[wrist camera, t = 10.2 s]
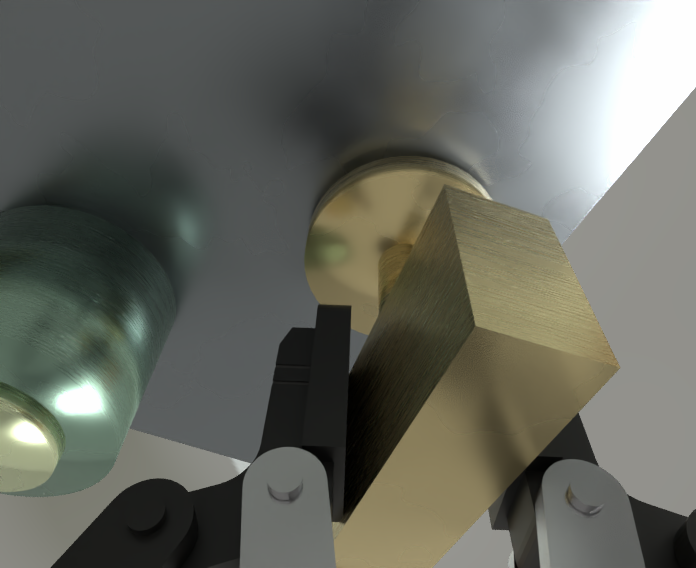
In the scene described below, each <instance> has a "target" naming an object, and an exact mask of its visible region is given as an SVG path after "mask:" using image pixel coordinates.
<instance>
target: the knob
mask: <svg viewBox="0 0 696 568" xmlns="http://www.w3.org/2000/svg"><path fill="white" fill-rule="evenodd" d="M304 264H305V273H306V277H307V281H308V284H309V286H310V289H311V291H312V293H313V294H314V296H315V298H316V300H317V301H318V302H319V303H320V304H327V305H352V307H351V329H353V330H355V331H357V332H360V333H363V334H366V335H368V337H367V339H366V341H365V343H364V345H363V347H362V349H361V351H360V353H359V355H358V357H357V359H356V361H355V363H354V365H353V367H352V369H351V371H350V373H349V385H348V410H347V434H346V459H345V484H344V508H343V517H342V519H341V520H340V522H332V531H333V541H334V551H335V561H336V568H432V567H433V566H434V565H435V564H436V563H437V562H438V561H439V560H440V559H441V558H442V557H443V556H444V554H446V552H448V550H449V549H450V548H451V547H452V546H453V545H454V544H455V543H456V542H457V541H458V540H459V539H460V538H461V537H462V536H463V534H464V533H465V532H466V531H467V530H468V529H469V528H470V527H471V526H472V525H473V524H474V523H475V522H476V521H477V520H478V519H479V517H480V516H481V515H482V514H483V513H484V512H485V511H486V510H487V509H488V508H489V507H490V506H491V505H492V504H493V503H494V502H495V501H496V499H497V498H498V497H499V496H500V495H501V494H502V493H503V492H504V491H505V490H506V489H507V488H508V487H509V486H510V485H511V484H512V482H513V481H514V480H515V479H516V478H517V477H518V476H519V475H520V474H521V473H522V472H523V471H524V470H525V469H526V468H527V467H528V465H529V464H530V463H531V462H532V461H533V460H534V459H535V458H536V457H537V456H538V455H539V454H540V453H541V452H542V451H543V450H544V448H545V447H546V446H547V445H548V444H549V443H550V442H551V441H552V440H553V439H554V438H555V437H556V436H557V435H558V434H559V433H560V431H561V430H562V429H563V428H564V427H565V426H566V425H567V424H568V423H569V422H570V421H571V420H572V419H573V418H574V417H575V416H576V414H577V413H578V412H579V411H580V410H581V409H582V408H583V407H584V406H585V405H586V404H587V403H588V402H589V400H591V398H592V397H593V396H594V395H595V394H596V393H597V392H598V391H599V390H600V389H601V388H602V387H603V386H604V385H605V383H607V381H608V380H609V379H610V378H611V377H612V376H613V375H614V374H615V373H616V372H617V371H618V370H619V369H620V366H619V364H618V362H617V360H616V358H615V356H614V354H613V352H612V350H611V348H610V346H609V344H608V341H607V339H606V337H605V335H604V333H603V331H602V329H601V327H600V325H599V323H598V321H597V319H596V317H595V315H594V313H593V311H592V309H591V306H590V304H589V302H588V300H587V298H586V296H585V294H584V292H583V290H582V288H581V286H580V284H579V282H578V280H577V278H576V276H575V273H574V271H573V269H572V267H571V265H570V263H569V261H568V259H567V257H566V255H565V253H564V251H563V249H562V247H561V245H560V243H559V240H558V238H557V236H556V234H555V232H554V230H553V228H552V226H551V224H550V222H549V220H548V219H547V218H544V217H541V216H538V215H535V214H532V213H529V212H526V211H523V210H520V209H517V208H514V207H511V206H508V205H505V204H502V203H499V202H496V201H493V200H492V199H491V197H490V196H489V194H488V193H487V191H486V190H485V189H484V188H483V187H482V185H481V184H480V183H479V182H478V181H477V180H475V179H474V178H473V177H472V176H470V175H469V174H468V173H466V172H465V171H463V170H461V169H460V168H458V167H456V166H454V165H451V164H449V163H446V162H444V161H440V160H437V159H433V158H428V157H421V156H396V157H388V158H383V159H379V160H375V161H372V162H370V163H367V164H364V165H362V166H360V167H358V168H356V169H354V170H352V171H350V172H349V173H347V174H346V175H344V176H343V177H341V178H340V179H339V180H338V181H336V182H335V183H334V184H333V185H332V186H331V187H330V188H329V189H328V190H327V192H326V193H325V194H324V195H323V196H322V198H321V199H320V201H319V203H318V204H317V206H316V208H315V210H314V212H313V215H312V217H311V221H310V225H309V229H308V235H307V241H306V247H305V256H304Z"/></svg>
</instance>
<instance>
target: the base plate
mask: <svg viewBox="0 0 696 568" xmlns="http://www.w3.org/2000/svg"><path fill="white" fill-rule="evenodd" d="M695 87H696V0H0V493H1V494H7V495H14V496H26V497H48V496H58V495H65V494H70V493H74V492H78V491H81V490H84V489H86V488H89V487H91V486H92V485H94V484H96V483H97V482H99V481H100V480H102V479H103V478H104V477H105V476H106V475H107V474H108V473H109V471H110V470H111V469H112V467H113V465H114V463H115V461H116V459H117V456H118V454H119V451H120V449H121V447H122V444H123V442H124V439H125V437H126V435H127V433H128V430H129V428H131V429H134V430H137V431H141V432H144V433H148V434H151V435H155V436H158V437H162V438H165V439H169V440H172V441H176V442H179V443H183V444H186V445H189V446H193V447H197V448H200V449H204V450H207V451H210V452H214V453H218V454H221V455H224V456H228V457H231V458H235V459H238V460H241V461H245V462H248V463H252V462H253V461H254V459H255V458H256V456H257V454H258V451H259V449H260V445H261V440H262V435H263V429H264V424H265V419H266V413H267V408H268V402H269V397H270V392H271V386H272V383H273V375H274V370H275V367H276V359H277V354H278V349H279V344H280V343H281V341H282V340H283V339H284V337H285V336H286V335H287V334H288V332H289V331H290V330H291V328H292V327H299V328H315V325H316V316H317V308H318V304H320V303H319V302H318V301H317V300H316V298H315V296H314V294H313V293H312V291H311V289H310V286H309V284H308V281H307V277H306V273H305V264H304V256H305V247H306V241H307V235H308V229H309V225H310V221H311V217H312V215H313V212H314V210H315V208H316V206H317V204H318V203H319V201H320V199H321V198H322V196H323V195H324V194H325V193H326V192H327V190H328V189H329V188H330V187H331V186H332V185H333V184H334V183H335V182H336V181H338V180H339V179H340V178H341V177H343V176H344V175H346V174H347V173H349V172H350V171H352V170H354V169H356V168H358V167H360V166H362V165H364V164H367V163H370V162H372V161H375V160H379V159H383V158H388V157H396V156H421V157H428V158H433V159H437V160H440V161H444V162H446V163H449V164H451V165H454V166H456V167H458V168H460V169H461V170H463V171H465V172H466V173H468V174H469V175H470V176H472V177H473V178H474V179H475V180H477V181H478V182H479V183H480V184H481V185H482V187H483V188H484V189H485V190H486V191H487V193H488V194H489V196H490V197H491V199H492V200H493V201H496V202H499V203H502V204H505V205H508V206H511V207H514V208H517V209H520V210H523V211H526V212H529V213H532V214H535V215H538V216H541V217H544V218H547V219H548V220H549V222H550V224H551V226H552V228H553V230H554V232H555V234H556V236H557V238H558V240H559V243H560V245H562V244H563V242H564V241H565V240H566V239H567V238H568V237H569V235H570V234H571V233H572V232H573V231H574V230H575V228H576V227H577V226H578V225H579V224H580V222H581V221H582V220H583V219H584V218H585V217H586V215H587V214H588V213H589V212H590V210H591V209H592V208H593V207H594V206H595V205H596V203H597V202H598V201H599V200H600V199H601V198H602V196H603V195H604V194H605V193H606V192H607V191H608V189H609V188H610V187H611V186H612V185H613V183H614V182H615V181H616V180H617V179H618V178H619V176H620V175H621V174H622V173H623V172H624V170H625V169H626V168H627V167H628V166H629V165H630V163H631V162H632V161H633V160H634V159H635V157H636V156H637V155H638V154H639V153H640V152H641V150H642V149H643V148H644V147H645V146H646V144H647V143H648V142H649V141H650V140H651V139H652V137H653V136H654V135H655V134H656V133H657V132H658V130H659V129H660V128H661V127H662V126H663V125H664V123H665V122H666V121H667V120H668V119H669V117H670V116H671V115H672V114H673V113H674V111H675V110H676V109H677V108H678V107H679V106H680V104H681V103H682V102H683V101H684V100H685V99H686V97H687V96H688V95H689V94H690V93H691V91H692V90H693V89H694V88H695ZM367 337H368V335H366V334H363V333H360V332H357V331H355V330H353V329H351V334H350V360H349V373H350V371H351V369H352V367H353V365H354V363H355V361H356V359H357V357H358V355H359V353H360V351H361V349H362V347H363V345H364V343H365V341H366V339H367Z"/></svg>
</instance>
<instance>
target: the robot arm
mask: <svg viewBox="0 0 696 568" xmlns="http://www.w3.org/2000/svg"><path fill="white" fill-rule="evenodd" d="M351 307H352V305H327V304H318V308H317V316H316V325H315V328H299V327H292V328H291V330H290V331H289V332H288V334H287V335H286V336H285V337H284V339H283V340H282V341H281V343H280V344H279V349H278V354H277V359H276V367H275V370H274V375H273V383H272V386H271V392H270V397H269V402H268V408H267V413H266V419H265V424H264V429H263V435H262V440H261V445H260V449H259V451H258V454H257V456H256V458H255V459H254V461H253V462H252V463H251V464H250V466H249V467H248V468H247V469H246V470H244V471H243V472H242V473H241V474H239V475H238V476H237V477H235V478H233V479H231V480H229V481H227V482H224V483H221V484H218V485H214V486H210V487H206V488H203V489H199V490H195V491H191V492H188V491H187V490H186V489H185V488H184V487H183V486H182V485H180V484H178V483H177V482H174V481H172V480H168V479H149V480H145V481H141V482H139V483H136V484H134V485H132V486H130V487H129V488H127V489H125V490H124V491H123V492H122V493H120V494H119V495H118V496H117V497H116V498H115V499H114V500H113V501H112V502H111V503H110V504H109V505H108V506H107V507H106V509H104V511H103V512H102V513H101V514H100V515H99V516H98V517H97V518H96V519H95V520H94V521H93V522H92V524H91V525H90V526H89V527H88V528H87V529H86V530H85V531H84V532H83V533H82V534H81V535H80V536H79V538H78V539H77V540H76V541H75V542H74V543H73V544H72V545H71V546H70V547H69V548H68V549H67V550H66V552H65V553H64V554H63V555H62V556H61V557H60V558H59V559H58V560H57V561H56V562H55V564H54V565H53V566H52V567H51V568H336V561H335V551H334V541H333V531H332V522H340V520H341V519H342V517H343V508H344V484H345V459H346V434H347V410H348V385H349V360H350V334H351ZM488 509H489V516H490V521H491V527H492V529H495V530H509V532H510V536H511V541H512V546H513V550H512V552H511V554H510V557H509V561H508V568H696V509H695V510H694V511H693V512H692V513H691V514H690V515H689V517H685V516H682V515H679V514H676V513H673V512H670V511H667V510H664V509H661V508H658V507H655V506H652V505H649V504H646V503H644V502H641V501H639V500H637V499H635V498H633V497H631V496H629V495H628V494H626V492H625V490H624V489H623V487H622V486H621V484H620V483H619V482H618V481H617V480H616V479H615V478H614V477H613V476H612V475H611V474H609V473H608V472H607V471H605V470H604V469H602V468H601V467H599V465H598V463H597V461H596V459H595V456H594V453H593V451H592V448H591V445H590V443H589V440H588V437H587V434H586V432H585V429H584V427H583V424H582V421H581V418H580V416H579V413H577V414H576V416H575V417H574V418H573V419H572V420H571V421H570V422H569V423H568V424H567V425H566V426H565V427H564V428H563V429H562V430H561V431H560V433H559V434H558V435H557V436H556V437H555V438H554V439H553V440H552V441H551V442H550V443H549V444H548V445H547V446H546V447H545V448H544V450H543V451H542V452H541V453H540V454H539V455H538V456H537V457H536V458H535V459H534V460H533V461H532V462H531V463H530V464H529V465H528V467H527V468H526V469H525V470H524V471H523V472H522V473H521V474H520V475H519V476H518V477H517V478H516V479H515V480H514V481H513V482H512V484H511V485H510V486H509V487H508V488H507V489H506V490H505V491H504V492H503V493H502V494H501V495H500V496H499V497H498V498H497V499H496V501H495V502H494V503H493V504H492V505H491V506H490V507H489V508H488Z"/></svg>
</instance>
